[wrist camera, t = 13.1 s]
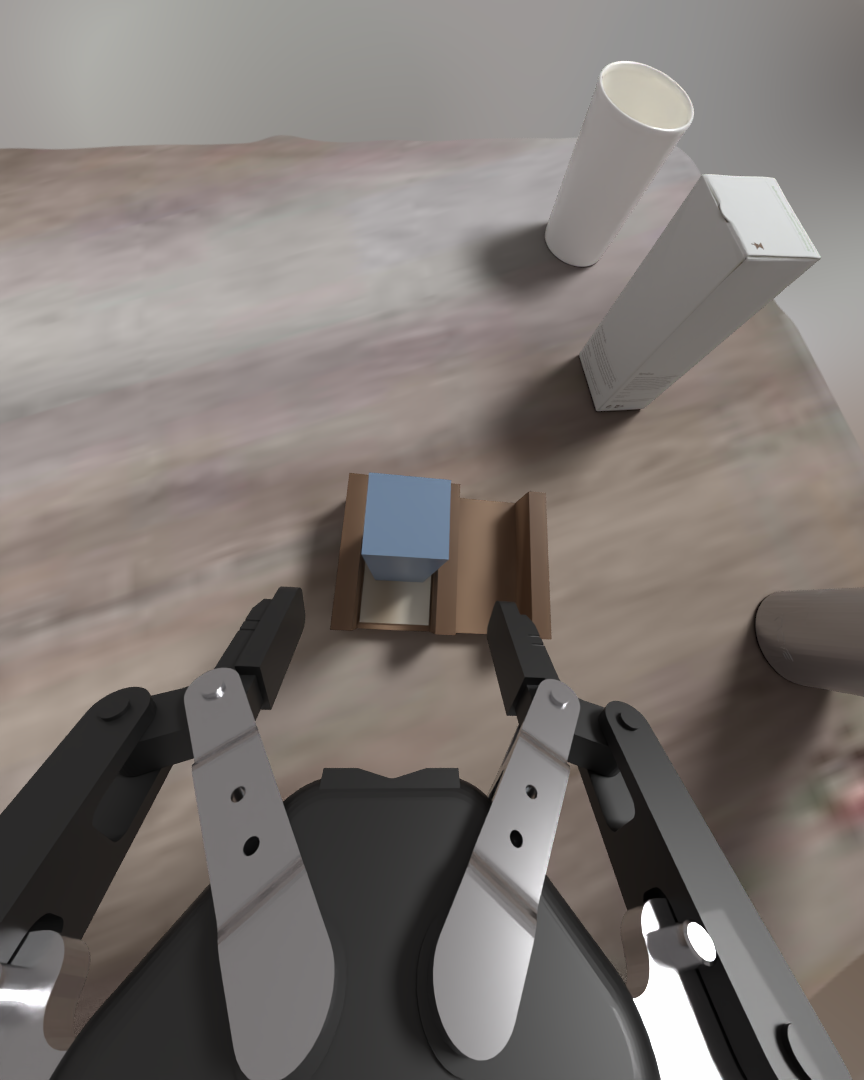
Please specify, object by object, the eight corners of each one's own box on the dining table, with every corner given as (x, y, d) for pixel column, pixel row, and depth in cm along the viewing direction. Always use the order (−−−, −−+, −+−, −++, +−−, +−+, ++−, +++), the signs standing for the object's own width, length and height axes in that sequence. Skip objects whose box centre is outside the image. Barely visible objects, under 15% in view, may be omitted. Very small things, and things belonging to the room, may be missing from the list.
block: (424, 536, 27) (450, 480, 15) (422, 582, 26) (448, 559, 14) (379, 533, 26) (369, 472, 15) (375, 579, 25) (361, 554, 14)
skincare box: (642, 411, 35) (829, 263, 20) (591, 413, 34) (748, 259, 19) (623, 350, 37) (782, 172, 22) (574, 351, 36) (705, 164, 21)
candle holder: (573, 206, 42) (643, 51, 30) (621, 255, 41) (713, 115, 29) (523, 230, 39) (578, 72, 28) (573, 283, 38) (652, 142, 27)
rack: (523, 509, 30) (545, 492, 26) (526, 634, 28) (551, 639, 23) (355, 493, 28) (349, 472, 24) (340, 626, 26) (330, 629, 21)
